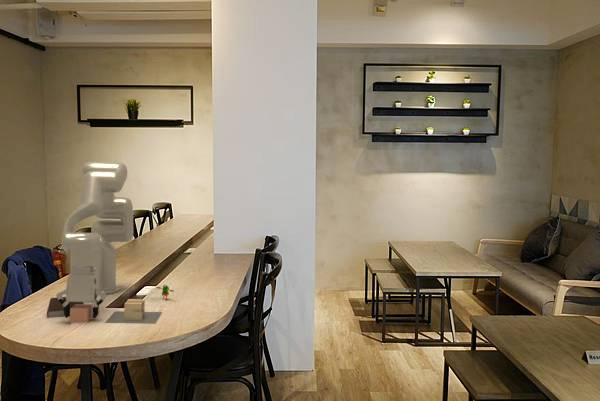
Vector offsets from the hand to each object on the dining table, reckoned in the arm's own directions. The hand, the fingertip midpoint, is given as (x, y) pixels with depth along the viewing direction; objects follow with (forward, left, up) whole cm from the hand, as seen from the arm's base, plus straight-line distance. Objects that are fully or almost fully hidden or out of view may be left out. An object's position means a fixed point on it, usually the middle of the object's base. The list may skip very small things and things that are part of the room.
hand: (81, 316), depth 195 cm
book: (-16, -11, -3) cm, 20 cm away
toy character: (-33, +25, -3) cm, 41 cm away
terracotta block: (0, 0, -2) cm, 2 cm away
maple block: (-4, +18, -1) cm, 19 cm away
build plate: (-4, +18, -2) cm, 19 cm away
